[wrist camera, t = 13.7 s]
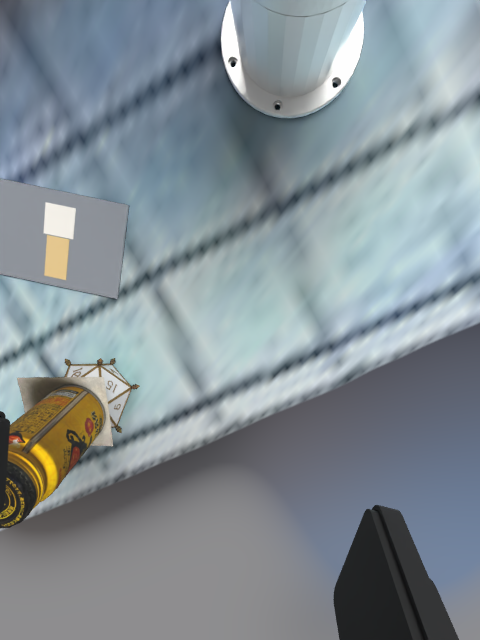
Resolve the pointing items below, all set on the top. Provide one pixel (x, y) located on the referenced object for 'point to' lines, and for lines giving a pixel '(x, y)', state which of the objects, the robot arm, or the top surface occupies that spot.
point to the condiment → (51, 438)
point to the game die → (106, 385)
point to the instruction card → (61, 238)
